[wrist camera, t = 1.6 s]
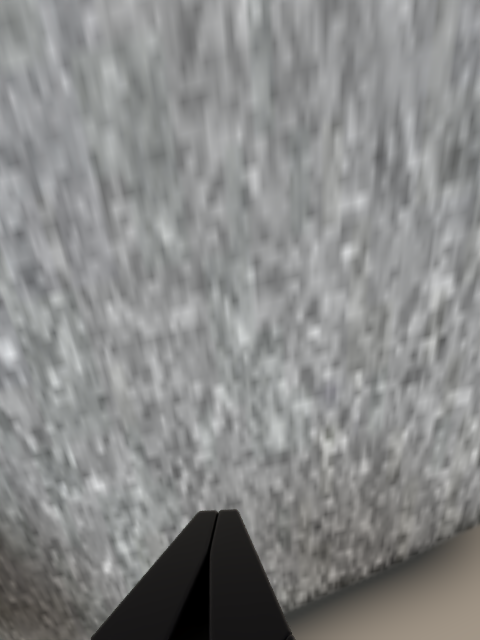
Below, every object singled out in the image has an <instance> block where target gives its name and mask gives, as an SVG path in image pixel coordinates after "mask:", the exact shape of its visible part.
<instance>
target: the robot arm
mask: <svg viewBox="0 0 480 640" xmlns="http://www.w3.org/2000/svg"><path fill="white" fill-rule="evenodd" d="M91 640H295V638H294V636H293V635H292V632H291V630H290V628H289V625H288V623H287V621H286V619H285V616H284V614H283V612H282V609H281V607H280V605H279V603H278V600H277V598H276V596H275V594H274V591H273V589H272V587H271V584H270V582H269V580H268V578H267V575H266V573H265V571H264V568H263V566H262V564H261V562H260V559H259V557H258V555H257V552H256V550H255V548H254V546H253V543H252V541H251V539H250V536H249V534H248V532H247V530H246V527H245V525H244V523H243V520H242V518H241V516H240V514H239V512H238V510H236V509H232V510H220V511H219V513H218V512H217V511H216V510H211V511H200V512H198V513H197V514H196V515H195V516H194V518H193V519H192V520H191V521H190V522H189V524H188V525H187V526H186V527H185V528H184V529H183V531H182V532H181V533H180V534H179V535H178V536H177V538H176V539H175V540H174V541H173V542H172V543H171V545H170V546H169V547H168V548H167V549H166V550H165V552H164V553H163V554H162V555H161V556H160V557H159V559H158V560H157V561H156V562H155V563H154V565H153V566H152V567H151V568H150V569H149V570H148V572H147V573H146V574H145V575H144V576H143V577H142V579H141V580H140V581H139V582H138V583H137V584H136V586H135V587H134V588H133V589H132V590H131V591H130V593H129V594H128V595H127V596H126V597H125V599H124V600H123V601H122V602H121V603H120V604H119V606H118V607H117V608H116V609H115V610H114V611H113V613H112V614H111V615H110V616H109V617H108V618H107V620H106V621H105V622H104V623H103V624H102V625H101V627H100V628H99V629H98V630H97V631H96V633H95V634H94V635H93V636H92V637H91Z"/></svg>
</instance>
